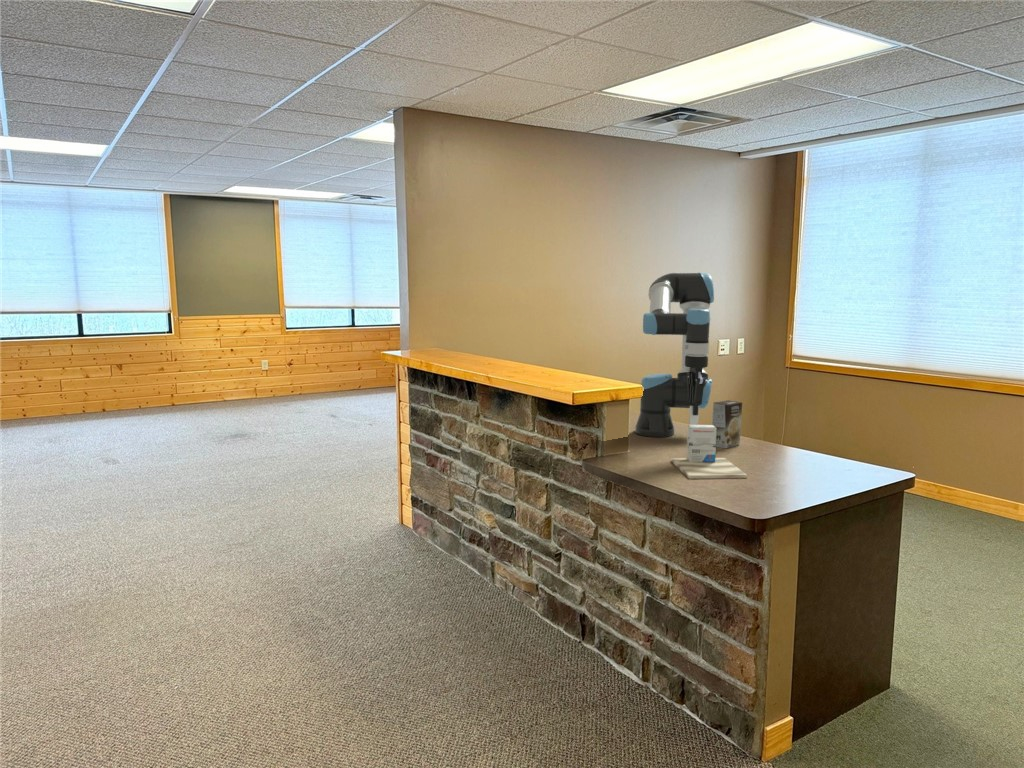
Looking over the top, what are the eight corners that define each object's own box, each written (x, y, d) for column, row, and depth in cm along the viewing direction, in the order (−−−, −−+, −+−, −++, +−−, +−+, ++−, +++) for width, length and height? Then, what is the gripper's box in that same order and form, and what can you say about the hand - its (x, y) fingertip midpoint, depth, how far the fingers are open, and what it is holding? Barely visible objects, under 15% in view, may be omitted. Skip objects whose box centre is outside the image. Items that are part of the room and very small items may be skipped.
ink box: (712, 458, 229) (713, 424, 227) (715, 462, 224) (717, 427, 222) (686, 458, 230) (687, 423, 228) (688, 462, 225) (690, 427, 223)
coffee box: (725, 449, 246) (727, 405, 244) (710, 445, 251) (712, 402, 249) (740, 445, 252) (742, 402, 249) (725, 441, 257) (727, 399, 254)
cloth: (671, 461, 230) (671, 458, 230) (724, 460, 230) (724, 457, 230) (689, 478, 210) (689, 475, 210) (746, 477, 211) (747, 474, 211)
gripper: (680, 353, 237) (677, 420, 240) (691, 357, 224) (688, 428, 227) (701, 353, 237) (698, 419, 241) (714, 357, 224) (710, 428, 228)
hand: (693, 423), depth 234 cm, fingers closed
